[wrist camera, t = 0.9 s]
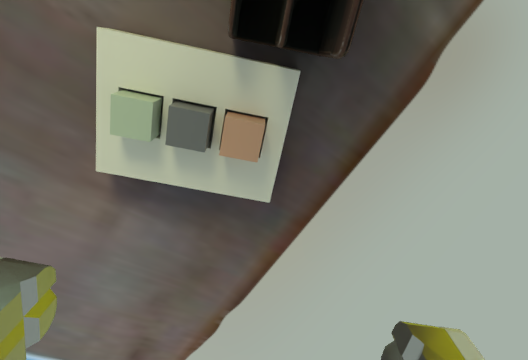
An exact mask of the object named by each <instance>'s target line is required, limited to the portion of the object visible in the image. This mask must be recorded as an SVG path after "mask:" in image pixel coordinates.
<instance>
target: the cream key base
mask: <svg viewBox="0 0 528 360" xmlns="http://www.w3.org/2000/svg"><path fill="white" fill-rule="evenodd" d="M300 72H301V71H300V70H298V69H295V68H291V67H286V66H282V65H277V64H273V63H268V62H263V61H259V60H254V59H250V58H245V57H240V56H236V55H231V54H227V53H222V52H217V51H213V50H208V49H204V48H199V47H195V46H190V45H185V44H181V43H176V42H172V41H167V40H162V39H158V38H153V37H149V36H144V35H139V34H135V33H130V32H126V31H121V30H117V29H111V28H102V27H97V70H96V171H98V172H104V173H109V174H115V175H120V176H126V177H131V178H137V179H142V180H148V181H153V182H159V183H164V184H170V185H175V186H181V187H186V188H192V189H197V190H202V191H208V192H213V193H219V194H224V195H230V196H235V197H241V198H246V199H252V200H257V201H263V202H268V203H270V199H271V195H272V190H273V186H274V182H275V178H276V174H277V169H278V165H279V161H280V157H281V152H282V148H283V144H284V140H285V135H286V131H287V127H288V123H289V119H290V114H291V110H292V106H293V102H294V97H295V93H296V89H297V85H298V80H299V76H300ZM122 90H126V91H131V92H136V93H141V94H146V95H150V96H155V97H160V98H162V105H161V118H160V130H159V135H158V136H157V137H156V138H154V139H153V140H152V141H151V142H147V141H142V140H137V139H132V138H126V137H121V136H116V135H111V134H110V106H111V94H112V93H116V92H119V91H122ZM175 101H180V102H185V103H190V104H195V105H200V106H205V107H209V108H214V114H213V121H212V128H211V134H210V141H209V145H208V147H207V149H206V151H205V152H199V151H194V150H189V149H184V148H179V147H173V146H168V145H165V142H166V131H167V120H168V109H169V105H171V104H172V103H174V102H175ZM228 111H229V112H234V113H239V114H244V115H249V116H254V117H259V118H263V119H265V129H264V134H263V138H262V143H261V148H260V153H259V158H258V162H251V161H246V160H241V159H236V158H231V157H225V156H220V155H219V153H220V147H221V140H222V134H223V128H224V122H225V117H226V115H227V113H228Z"/></svg>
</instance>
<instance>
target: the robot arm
mask: <svg viewBox="0 0 528 360" xmlns="http://www.w3.org/2000/svg"><path fill="white" fill-rule="evenodd" d="M55 282H56V271H55V268H53V267H52V266H49V265H43V264H38V263H33V262H27V261H22V260H16V259H11V258H2V257H0V360H26V348H27V347H29V346H31V345H33V344H35V343H37V342H38V341H40V340H41V339H42V337H43V336H44V335H45V333H46V332H47V331H48V329H49V327H50V325H51V323H52V321H53V319H54V317H55V313H56V308H57V296H56V295H55V294H54V293H53V291H52V290H51V289H50V288H51V286H52V285H53V284H54V283H55ZM392 335H393V338H394V341H393V342H391V343H390V344H388V345H387V346H385V349H384V351H383V354H382V356H381V360H485V359H484V358H483V356H482V355H481V354H480V352H479V351H478V350H477V348H476V347H475V345H474V344H473V343H472V341H471V340H470V339H469V337H468V336H467V335H466V334H465V333H464V332H462V331H461V330H459V329H452V328H445V327H435V326H428V325H422V324H415V323H409V322H402V321H400V322H399V323H397V324H396V325H395V327H394V329H393V331H392Z"/></svg>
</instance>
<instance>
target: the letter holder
mask: <svg viewBox="0 0 528 360" xmlns="http://www.w3.org/2000/svg"><path fill="white" fill-rule="evenodd" d="M362 4H363V0H231V9H230V17H229V26H228V35H229V37H230V38H233V39H240V40H243V41H250V42H255V43H260V44H265V45H269V46H274V47H277V48H284V49H289V50H294V51H299V52H304V53H310V54H314V55H318V56H325V57H332V58H336V59H340V58H341V57H343V56H345V55H346V54H347V53H348V51H349V48H350V45H351V42H352V39H353V35H354V32H355V28H356V24H357V21H358V17H359V14H360V10H361V7H362Z"/></svg>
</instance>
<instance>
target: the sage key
mask: <svg viewBox="0 0 528 360" xmlns="http://www.w3.org/2000/svg"><path fill="white" fill-rule="evenodd" d="M161 105H162V98H160V97H155V96H150V95H146V94H141V93H136V92H131V91H126V90H122V91H119V92H116V93H112V94H111V106H110V134H111V135H116V136H121V137H126V138H132V139H137V140H142V141H147V142H151V141H152V140H153V139H154V138H156V137H157V136H158V135H159V130H160V118H161Z"/></svg>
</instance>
